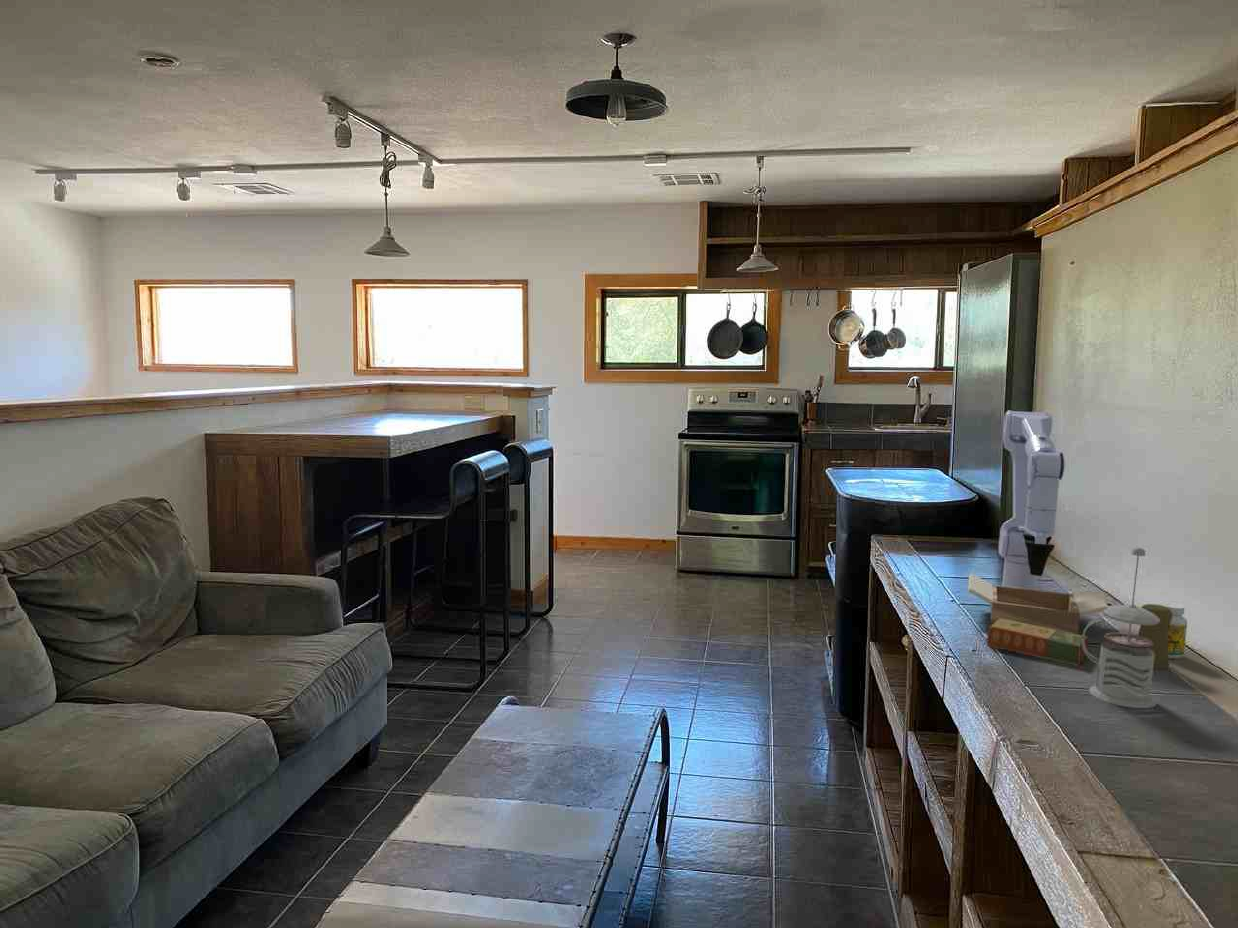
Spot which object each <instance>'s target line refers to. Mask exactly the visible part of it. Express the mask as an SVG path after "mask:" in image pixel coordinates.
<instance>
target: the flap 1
mask: <svg viewBox="0 0 1238 928" xmlns="http://www.w3.org/2000/svg"><path fill="white" fill-rule="evenodd" d="M993 585H994V584H992V583H990V582H988V581H986V580H985V579H983V578H981V577H979V576H977V575H975V574H973V573H972V572H971V573H970V574H969V576H968V586H967V587H968V590H967V592H969V593H970V594H972V595H973V596H975V597H977V598H979V599H981V600H982V601H984V602H986V603H988V604H989V605H991V604H992V602H993Z"/></svg>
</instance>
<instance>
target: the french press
mask: <svg viewBox="0 0 1238 928" xmlns="http://www.w3.org/2000/svg"><path fill="white" fill-rule="evenodd" d="M1131 555H1134V556H1137V557H1136V566H1135V575H1134V584H1133V592H1132V600H1131V604H1118V605H1117V604H1116V605H1114V606H1111V607H1107V608H1108V609H1105V610H1104V611H1103V613H1104V616H1105V617H1107V618H1109V619H1110V620H1115V621H1118V622H1121V623H1127V624H1129V625H1128V626H1129V627H1128V632H1127V633H1124V632H1107V633H1105V634H1104V635H1103V637H1104V639H1105V640H1106V641H1103V642H1102V643H1101V644H1100V645H1101V646H1100V652H1099V653H1100V654H1099V658H1096V657H1095V656H1094V655H1092V654H1091V653H1090V651H1088V650H1087V648H1086V646H1085V642H1084V641H1085V636H1086V632H1087V630H1088V629H1089V628H1090V626H1092V625H1093V624H1095V623H1099V622H1101V628H1102V629H1104V628H1105V624H1106V620H1105V618H1103V617H1097V618H1094V619H1093V620H1090V621H1089V622H1088V623H1087V624H1086V626H1085V627H1084V629H1083V632H1082V634H1081V635H1082V647H1083V650H1084V653H1085V654H1086V657H1087V658H1089V660H1091V661H1092V662H1094V663H1095V664H1096V665H1097V669H1096V679H1095V681H1096V682H1095V684H1093V686H1091V687H1090V688H1089V689H1088V691H1089V693H1090V694H1091V695H1092V696H1093V697H1095V698H1097V699H1099V700H1101V701H1104V702H1106V703H1110V704H1113V705H1116V706H1117V705H1118V706H1122V707H1126V708H1127V707H1128V708H1134V709H1148V708H1153V707H1155V706H1156V705H1157V701H1156V700H1155V698H1154V697H1153V696H1152V695H1151V690H1152V683H1153V681H1152V680H1153V674H1154V673H1153V672H1154V669H1153V666H1154V657H1155V653H1154V651H1153V650H1151V649H1149V648H1151V647H1152V646H1153V645H1154V643H1153V642H1152V641H1150V640H1148V639H1147V638H1143V637H1141V636H1140V637H1139V636H1138V634H1137V635H1135V634H1131V629H1132V625H1138V626H1141V625H1156V624H1158V623H1159V622H1160V619H1159V618H1158V617H1157V616H1156V615H1155V614H1153V613H1151V612H1149V611H1147V610H1145V609H1143V608H1141V607H1142V606H1138V605H1137V606H1136V605H1135V604H1134V603H1135V602H1134V601H1135V593H1136V587H1137V584H1136V583H1137V575H1138V567H1139V559H1140V558H1139V557H1144V556H1146V550H1145V549H1143V548H1142V547H1134V548H1133V549H1132V550H1131ZM1115 648H1123V649H1126V650H1128V651H1130V652H1131V653H1132V654H1133V653H1134V654H1136V655H1137V656H1133V655H1132V654H1130V653H1128V652H1125V651H1122V650H1117V651H1114V650H1112V649H1115ZM1085 650H1086V651H1085ZM1086 652H1087V653H1086ZM1108 659H1109V660H1108ZM1125 665H1126V666H1125ZM1128 666H1129V667H1128ZM1132 669H1133V670H1132ZM1118 670H1119V671H1118ZM1147 670H1148V672H1145V671H1147ZM1121 671H1122V672H1121ZM1124 672H1125V673H1127V674H1125V673H1124ZM1128 674H1129V675H1130V676H1129V675H1128ZM1131 676H1132V677H1131ZM1145 678H1146V679H1145ZM1145 686H1146V687H1145Z"/></svg>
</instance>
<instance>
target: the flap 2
mask: <svg viewBox="0 0 1238 928" xmlns="http://www.w3.org/2000/svg"><path fill="white" fill-rule="evenodd" d="M1073 596H1074V599H1075V602H1076V604H1077V607H1078V609H1079V612H1080V617H1083V616H1087V615H1093V614H1097V613H1104V610H1105V609H1108V608H1109V607H1108V606H1107V604H1106V602H1105V600H1104V598H1103V596H1102V594H1101V591H1100V590H1099V588H1097V589H1092V590H1088V591H1083V592H1079V593H1075V594H1073Z"/></svg>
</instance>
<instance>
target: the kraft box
mask: <svg viewBox="0 0 1238 928" xmlns="http://www.w3.org/2000/svg"><path fill="white" fill-rule="evenodd" d="M992 585H993V602H992V604H989V605H990V606H989V609H990V611H989V612H990V626H991V625H992V624H994V623H995V622H996V621H997V620H999V619H1000V618H1002V619H1007V620H1011V621H1016V622H1021V623H1026V624H1031V625H1035V626H1040V627H1045V628H1050V629H1054V630H1059V631H1064V632H1069V633H1073V634H1078V635H1079V627H1080V626H1079V625H1080V617H1081V615H1080V612H1079V609H1078V607H1077V604H1076V601H1075V599H1074V596H1073V595H1074V594H1072V593H1066V592H1065V593H1064V592H1057V591H1056V592H1055V591H1048V590H1047V591H1046V590H1041V589H1036V590H1033V589H1025V588H1017V587H1008V586H1002V585H1001V584H992Z"/></svg>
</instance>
